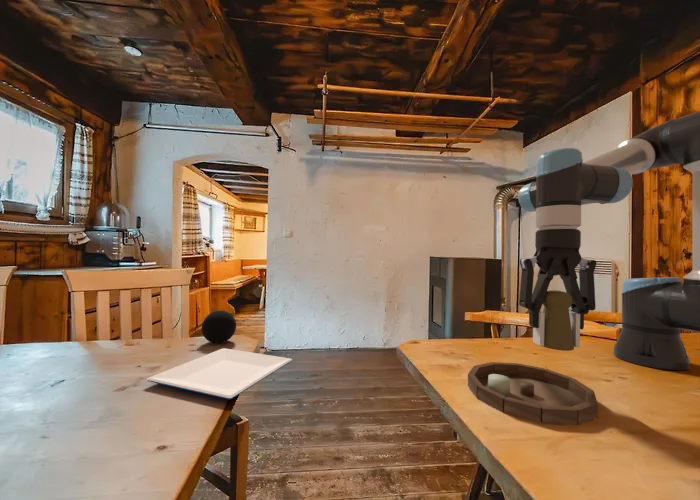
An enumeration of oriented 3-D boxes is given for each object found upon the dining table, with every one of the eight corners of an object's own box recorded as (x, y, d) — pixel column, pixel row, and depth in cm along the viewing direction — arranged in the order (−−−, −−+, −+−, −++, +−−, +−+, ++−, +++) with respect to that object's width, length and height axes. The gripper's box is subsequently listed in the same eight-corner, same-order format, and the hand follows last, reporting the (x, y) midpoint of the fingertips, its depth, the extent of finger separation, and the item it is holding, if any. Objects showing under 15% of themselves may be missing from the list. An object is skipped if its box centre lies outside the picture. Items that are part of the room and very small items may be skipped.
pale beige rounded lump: (504, 388, 64) (505, 374, 64) (513, 397, 60) (513, 382, 60) (485, 387, 64) (485, 373, 64) (492, 396, 60) (492, 381, 60)
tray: (551, 378, 72) (552, 364, 72) (631, 434, 50) (631, 413, 50) (456, 374, 73) (456, 360, 74) (492, 427, 52) (492, 406, 52)
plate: (145, 388, 65) (145, 378, 65) (222, 354, 86) (223, 347, 86) (230, 408, 57) (230, 397, 57) (293, 366, 78) (293, 358, 78)
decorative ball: (197, 348, 90) (197, 314, 90) (206, 338, 100) (206, 308, 100) (233, 346, 92) (233, 313, 92) (238, 337, 102) (238, 307, 102)
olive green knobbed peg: (580, 351, 58) (581, 293, 58) (545, 349, 59) (546, 292, 59) (565, 342, 64) (565, 289, 64) (533, 340, 65) (534, 288, 65)
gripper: (593, 231, 65) (592, 341, 64) (500, 229, 66) (499, 337, 66) (622, 228, 57) (621, 352, 57) (517, 226, 58) (515, 348, 58)
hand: (555, 344), depth 61 cm, fingers closed on olive green knobbed peg, 6 cm apart
